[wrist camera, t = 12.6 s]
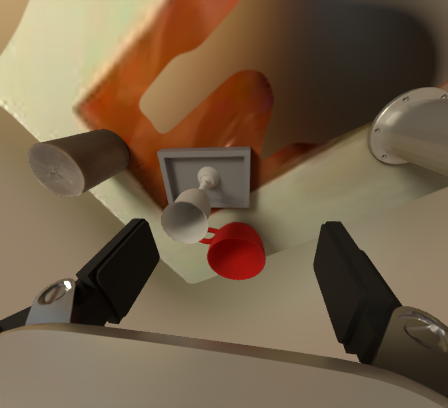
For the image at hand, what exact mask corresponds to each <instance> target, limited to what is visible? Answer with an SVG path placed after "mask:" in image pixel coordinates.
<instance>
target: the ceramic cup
mask: <svg viewBox="0 0 448 408" xmlns="http://www.w3.org/2000/svg"><path fill="white" fill-rule="evenodd" d="M207 232H211V233H215V236H214V237H213V238H211V239H205V238H203V239H202V240H200V241H199V242H201V243H204V244H210V247H209V250H208V254H207V260H208V263H209V265H210V267H211V268H212V269H213V270H214V271H215V272H216V273H217V274H219V275H221V276H223V277H225V278H229V279H233V280H244V279H249V278H252V277H254V276H256V275H257V274H259V273H260V272H261V271H262V269H263V268H264V265H265V260H266V259H265V252H264V247H263V243H262V241H261V239H260V236H259V235H258V233H257V232H256V231H255V230H254V229H253V228H252V227H251V226H249V225H247V224H245V223H241V222H233V223H229V224H227V225H225V226H223V227H222V228H221V229H219V230H218V229H214V228H209V227H208V231H207Z"/></svg>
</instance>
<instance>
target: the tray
mask: <svg viewBox="0 0 448 408" xmlns="http://www.w3.org/2000/svg"><path fill="white" fill-rule="evenodd" d="M250 151H251V149H250V147H209V148H167V149H161V150H160V151H158V152H157V154H158V158H159V163H160V167H161V172H162V176H163V181H164V185H165V190H166V194H167V199H168V203H169V205H170V204H172V203H173V202H175V200H176V199H177V198H178V196H179V195H180V194H181V193H182V192H184V191H186V190H189V189H194V188H197V189H198V188H199V187H200V183H199V181H198V178H197V177H198V172H199V171H200V170H201V169H202V168H204V167H212V168H214V169H215V170H216V171H217V172H218V174H219V177H220V178H219V182H218V184H217V185H216V186H215V187H213V188H208V189H207V190H206V192H205V193H206V194H207V196H208V197H209V200H210V205H211V207H218V208H249V198H250Z"/></svg>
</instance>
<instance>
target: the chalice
mask: <svg viewBox="0 0 448 408" xmlns="http://www.w3.org/2000/svg"><path fill="white" fill-rule="evenodd" d="M197 178H198V181H199V183H200V187H199V188H198V189H197V188H194V189H189V190H186V191H184V192H182V193H181V194H180V195H179V196H178V198H177V199H176V200H175V202H173V203H172V204H170V205H168V206H167V207H166V208H165V209H164V211H163V213H162V216H161V224H162V226H163V229H164V231H165V232H166V233H167V235H168V236H170V237H171V238H172V239H173V240H175V241H178V242H180V243H185V244H191V243H196V242H198V241H200V240H202V239H203V238H204V237H205V235H206V233H207V231H208V218H209V215H210V212H211V205H210V200H209V197H208V196H207V194H206V193H205V192H206V190H207V189H208V188H213V187H215V186H216V185H217V184H218V182H219V178H220V177H219V174H218V172H217V171H216V170H215V169H214V168H212V167H204V168H202V169H201V170H200V171H199V172H198V177H197Z"/></svg>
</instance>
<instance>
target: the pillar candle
mask: <svg viewBox="0 0 448 408" xmlns="http://www.w3.org/2000/svg"><path fill="white" fill-rule="evenodd" d="M129 159H130V156H129V151H128V148H127V146H126V144H125V142H124V141H123V140H122V139H121V138H120V137H119V136H118V135H117V134H115V133H114V132H112V131H109V130H106V129H102V130H95V131H90V132H86V133H82V134H77V135H73V136H69V137H64V138H60V139H55V140H50V141H46V142H41V143H38V144H35V145H33V146H32V147H30V149H29V150H28V154H27V161H28V164H29V167H30V169H31V171H32V173H33V175H34V176H35V177H36V178H37V180H38V182H39V183H41V184H42V185H43V186H44V187H45V188H46V189H48V190H50V191H52V192H54V193H55V194H58V195H60V196H64V197H77V196H80V195H81V194H82V193H84V192H86V191H87V190H89V189H91V188H92V187H95V186H96V185H98V184H100V183H101V182H103V181H105V180H107V179H109V178H110V177H112V176H114V175H115V174H117V173H119V172H121V171H122V170H124V169H125V168H126V167H127V166H128V164H129Z"/></svg>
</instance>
